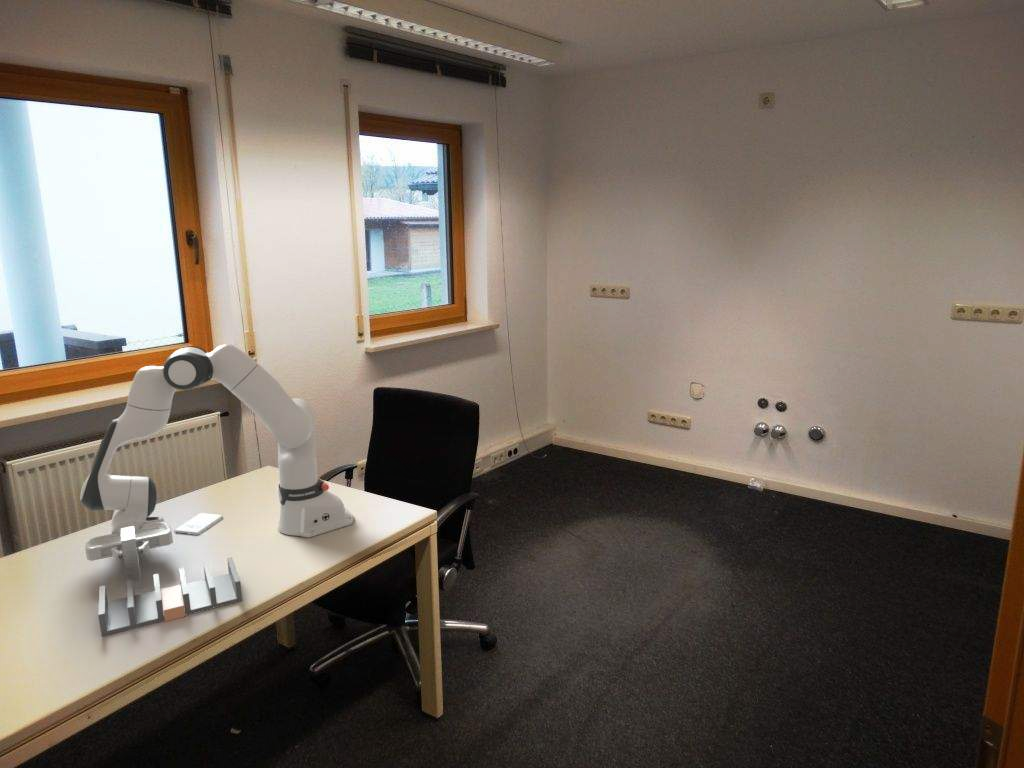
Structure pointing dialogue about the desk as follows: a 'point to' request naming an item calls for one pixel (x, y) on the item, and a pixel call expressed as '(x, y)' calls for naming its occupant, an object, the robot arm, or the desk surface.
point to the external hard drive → (199, 523)
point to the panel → (131, 556)
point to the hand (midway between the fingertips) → (130, 554)
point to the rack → (168, 600)
